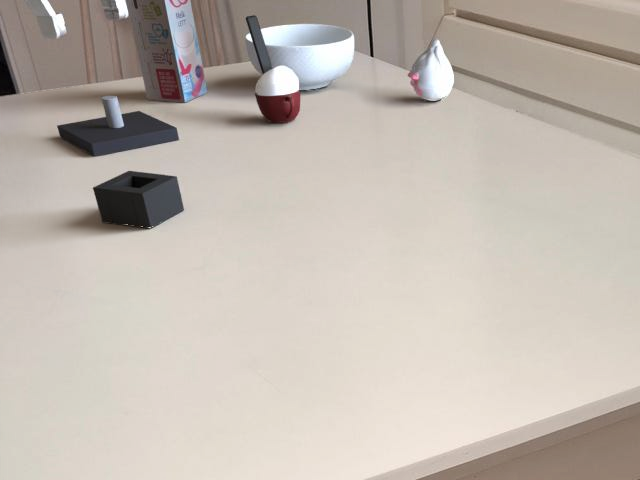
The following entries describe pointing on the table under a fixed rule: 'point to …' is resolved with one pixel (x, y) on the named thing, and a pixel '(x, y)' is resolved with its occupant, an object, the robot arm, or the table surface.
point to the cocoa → (274, 82)
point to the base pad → (117, 131)
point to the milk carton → (167, 49)
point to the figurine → (432, 73)
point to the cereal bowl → (307, 51)
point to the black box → (139, 199)
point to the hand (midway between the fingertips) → (87, 28)
